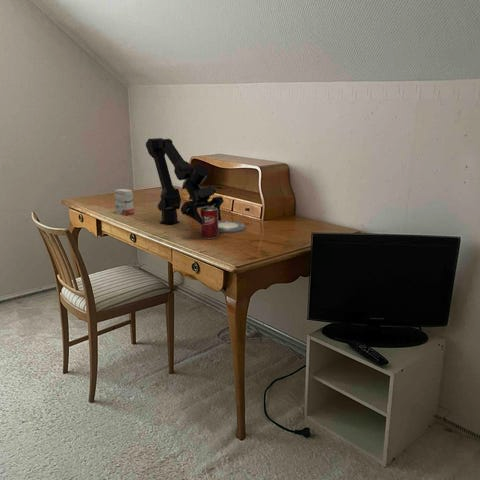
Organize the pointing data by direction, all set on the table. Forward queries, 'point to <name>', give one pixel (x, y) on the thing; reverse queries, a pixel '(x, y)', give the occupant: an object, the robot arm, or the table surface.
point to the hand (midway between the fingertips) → (211, 222)
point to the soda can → (209, 222)
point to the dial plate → (230, 227)
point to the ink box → (124, 201)
